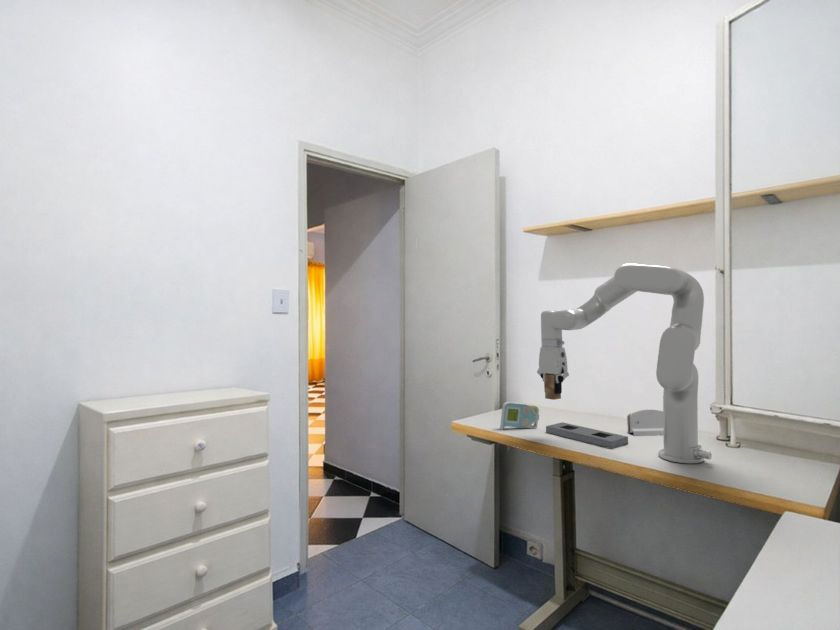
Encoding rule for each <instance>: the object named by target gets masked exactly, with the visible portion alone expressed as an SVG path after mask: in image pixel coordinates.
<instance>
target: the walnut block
mask: <svg viewBox="0 0 840 630" xmlns="http://www.w3.org/2000/svg"><path fill="white" fill-rule="evenodd" d="M558 377H559V376H558ZM555 383H556V380H555V375H553V374H545V389H544V397H545V400H546V399H548V400H553V401H554V400H559V399H562V393H560V394H555Z"/></svg>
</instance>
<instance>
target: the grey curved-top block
mask: <svg viewBox="0 0 840 630" xmlns="http://www.w3.org/2000/svg"><path fill="white" fill-rule="evenodd" d="M626 418H627V419H626V421H627V422H626V423H627V434H633V437H648V436H649V437H651V436H652V437H653V436H654V437H655V436H657V435H660V436H664V433H663V410H659V409H640V410H636V411H633V412H631V413H629V414H628V415H626ZM657 437H658V436H657Z"/></svg>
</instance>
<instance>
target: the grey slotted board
mask: <svg viewBox="0 0 840 630" xmlns="http://www.w3.org/2000/svg"><path fill="white" fill-rule="evenodd" d="M545 433H547V434H551V435H555V436H559V437H563V438H567V439H570V440H571V439H572V440H575V441H579V442H583V443H586V444H591V445H595V446H600V447H603V448H608V449H611V450H612V449H615V448H619V447H621V446H625V445H628V444H629V436H626V435H622V434H617V433H613V432H609V431H605V430H599V429H595V428H590V427H587V426H581V425H577V424H572V423H566V422H557V423H554V424H549V425H545Z"/></svg>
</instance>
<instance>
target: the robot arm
mask: <svg viewBox="0 0 840 630" xmlns="http://www.w3.org/2000/svg"><path fill="white" fill-rule="evenodd" d="M637 292H641V293H651V294H656V295H657V294H659V295H668V296H671V297H672V299H673V304H672V308H671V317H670V322H669V323H670V324H669V326H668V327H666V328H665V330H664V331H663V333H662V334H661V337H660V339H659V341H660V342H659V347H658V353H657V354H658V355H657V362H656V371H655V373H656V380H657V382H658V384H659V385H660V387H661V388H663V395H662V401H663V402H662V411H663V433H664V435H663V448H662V449H659V450H658V452H657V453H658V456H659V457H660V459H663V460H665V461H669V462H674V463H677V464H678V463H679V464H700V463H703V462H704V461H705V459H706V460H709V461H710V460H711V459H712V456H713V455H712V452H711V451H707V450H703V448H702V445H700V444H699V435H698V434H699V426H698V425H699V421H698V420H699V419H698V408H699V407H698V404H699V403H698V399H699V398H698V394H699V393H698V391H699V371H698V368H697V367H696V364H695V363H694V361H695V360H694V359H695V353H696V350H698V349H699V346H700V345H701V334H702V325H703V324H702V323H703V316H704V314H703V313H704V303H705V295H704V290H703V287H702V286H701V284H700V282H699V281H698V280H697V279H696V278H695V277H693V276H692V275H691V274H689V273H688V272H686V271H684V270H682V269H678V268H676V267H671V266H665V265H664V266H662V265H650V264H638V263H630V262H628V263H624V264H621V265H620V266H618V267H617V269H616V270H615V272H614V275H613V276H612V277H611V278H609V279H608V280H607V281H604V282H603V283H602V284H600V285H598V286H597V287H596V289H595V290H594V293H593V296H592V297H591V298H590V299H589V300H588V301H586V302H585V303H583V304H582V305H580V306H579V307H577V308H576V309H575V308H574V309H573V308H571V309H563V310H562V309H561V310H543V311H542V312H541V313H540V331H541V333H540V335H541V336H540V337H541V340H540V341H541V343H540V344H541V347H539V356H538V357H539V358H538V369H537V370H536V374H538V375H539V376H540V378H541V379H542V382H543V383H544V389H543V390H545V374H553V375H555V380H556V383H555V394H560V393H561V394H562V389H563V388H562V383H564V381H565V379H566V378H568V377H569V376H570V374H569V371H568V359H567V353H566V348H565V347H563V345H565V341H564V340H563V331H575V330H576V331H577V330H582V329H584V328H586V327H587V326H589V325H591V324H592V323H594V322H596V321H597V320H598V319H599V318H601V317H603V316H604V315H605V314H606V313H607V312H610V310H611V309H613V308H614V307H616V306H617V305H619V304H620V303H621V302H624V301H625V300H626V299H628V298H629V297H630V296H632V295H634V294H635V293H637ZM558 376H559V377H558Z"/></svg>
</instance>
